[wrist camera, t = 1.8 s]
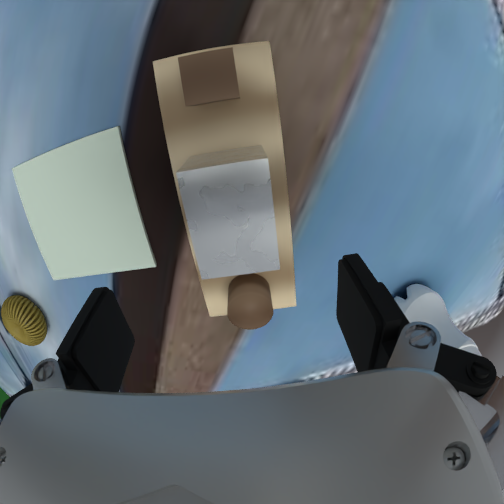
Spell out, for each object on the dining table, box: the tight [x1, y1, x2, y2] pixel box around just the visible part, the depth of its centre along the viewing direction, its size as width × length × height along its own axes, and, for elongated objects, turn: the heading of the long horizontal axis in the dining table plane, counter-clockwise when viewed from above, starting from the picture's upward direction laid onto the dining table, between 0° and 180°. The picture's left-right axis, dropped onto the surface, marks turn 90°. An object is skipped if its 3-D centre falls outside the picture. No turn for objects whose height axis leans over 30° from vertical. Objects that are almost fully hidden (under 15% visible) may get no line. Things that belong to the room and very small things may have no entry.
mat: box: [12, 126, 157, 280], centre depth 25 cm, size 14×14×1 cm
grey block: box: [176, 145, 280, 280], centre depth 19 cm, size 7×5×5 cm
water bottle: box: [394, 284, 482, 356], centre depth 21 cm, size 7×7×25 cm
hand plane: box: [153, 41, 296, 329], centre depth 21 cm, size 22×8×8 cm, turn 8°
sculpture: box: [1, 295, 47, 346], centre depth 30 cm, size 8×4×8 cm
